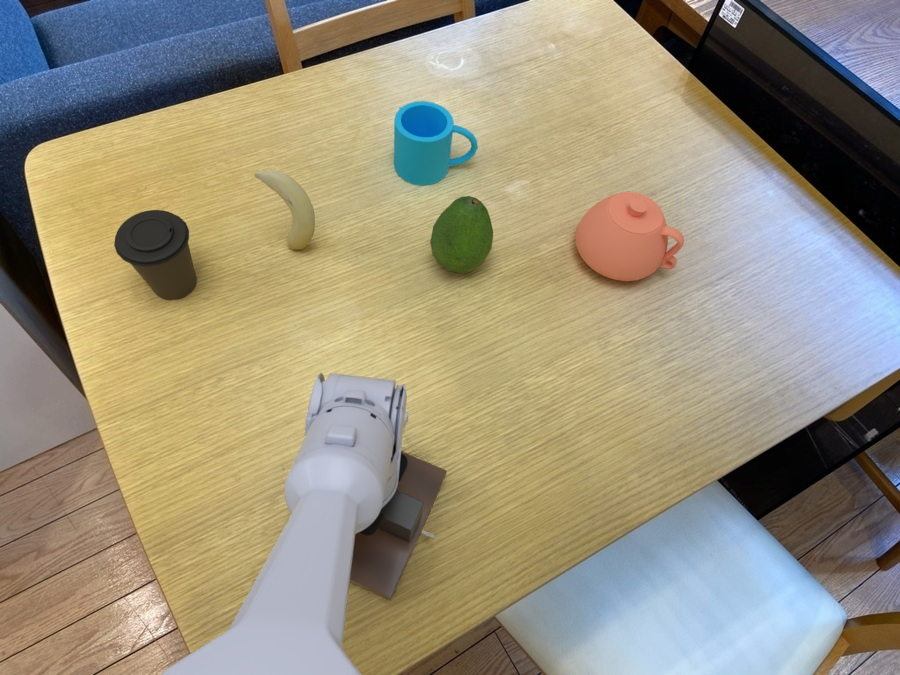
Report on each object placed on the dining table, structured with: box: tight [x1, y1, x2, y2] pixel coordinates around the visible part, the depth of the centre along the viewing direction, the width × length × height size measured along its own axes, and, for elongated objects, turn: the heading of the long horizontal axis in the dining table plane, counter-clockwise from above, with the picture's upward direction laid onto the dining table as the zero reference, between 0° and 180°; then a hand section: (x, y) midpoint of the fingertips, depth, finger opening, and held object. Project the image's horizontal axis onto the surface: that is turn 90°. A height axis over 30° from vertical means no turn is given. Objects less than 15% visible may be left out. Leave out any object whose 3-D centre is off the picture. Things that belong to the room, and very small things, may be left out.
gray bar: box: [378, 490, 424, 542], centre depth 62 cm, size 11×3×5 cm, turn 67°
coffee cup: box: [113, 209, 198, 301], centre depth 75 cm, size 8×8×10 cm
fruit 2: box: [429, 195, 494, 274], centre depth 79 cm, size 8×8×12 cm
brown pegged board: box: [350, 450, 448, 602], centre depth 66 cm, size 15×15×2 cm
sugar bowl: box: [574, 191, 685, 282], centre depth 83 cm, size 12×14×10 cm
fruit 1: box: [254, 169, 316, 250], centre depth 78 cm, size 6×12×3 cm
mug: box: [393, 100, 479, 186], centre depth 90 cm, size 12×8×8 cm
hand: (367, 504), depth 64 cm, fingers closed on gray bar, 3 cm apart
